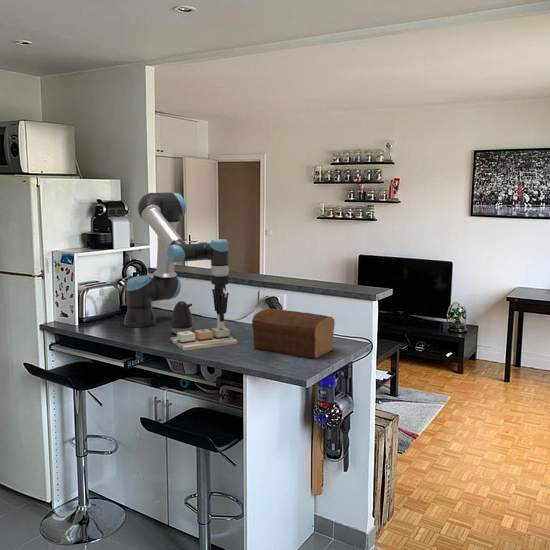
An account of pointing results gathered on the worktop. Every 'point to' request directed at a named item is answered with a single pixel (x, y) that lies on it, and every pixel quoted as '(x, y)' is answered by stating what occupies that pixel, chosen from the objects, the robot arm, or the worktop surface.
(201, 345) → the board
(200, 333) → the tile two
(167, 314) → the worktop surface
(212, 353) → the worktop surface
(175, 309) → the pump dispenser
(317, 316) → the bread
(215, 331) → the tile three
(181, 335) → the tile one
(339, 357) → the worktop surface
